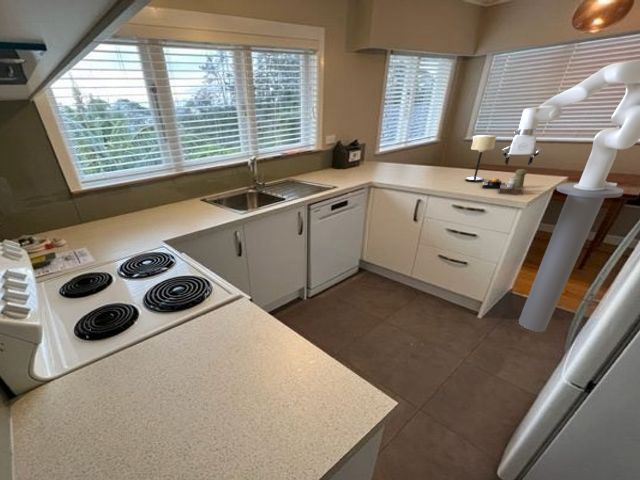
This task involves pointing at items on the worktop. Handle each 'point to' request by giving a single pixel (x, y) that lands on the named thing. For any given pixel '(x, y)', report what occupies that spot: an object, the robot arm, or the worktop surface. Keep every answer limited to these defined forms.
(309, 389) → the worktop surface
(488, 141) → the lamp
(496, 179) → the lamp button
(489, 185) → the switch block
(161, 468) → the worktop surface
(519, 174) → the olive upright piece
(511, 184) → the dimmer knob
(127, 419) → the worktop surface
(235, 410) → the worktop surface
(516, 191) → the dimmer panel
